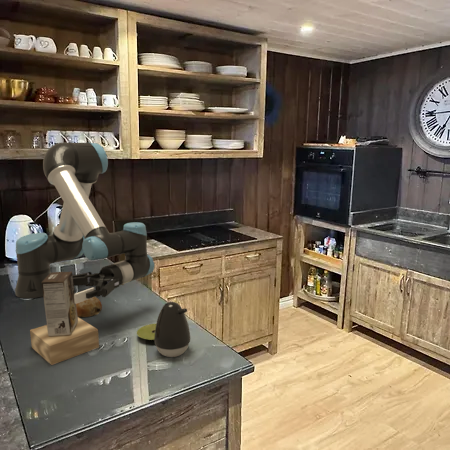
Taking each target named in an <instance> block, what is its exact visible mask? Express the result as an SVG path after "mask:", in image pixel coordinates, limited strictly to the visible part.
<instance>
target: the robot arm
mask: <svg viewBox="0 0 450 450" xmlns="http://www.w3.org/2000/svg"><path fill="white" fill-rule="evenodd" d="M108 165H109V160H108V156H107V152H106V150H105V148H104V147H103V146H102V145H101V144H99V143H98V142H90V141H88V142H64V141H63V142H58V143H56V144H54V145H52V146H51V147H50V148H49V149H48V150H47V151H46V152H45V154H44V156H43V160H42V169H43V173H44V175H45V176H44V177H46V180H47V181H48V183H49V184H51V185H53V186H54V187H55V189H56V191H57V192H58V194H59V196H60V198H61V199H62V201H63V205H62V209H61V212H60V218H59V223H58V225H56V226H54V229H53V231H52V234H50V235H48V234H47V233H45V232H36V233H29V234H26V235H23V236H20V237H19V238H18V239H17V240H16V242H15V253H16V254H15V255H16V262H17V271H18V277H17V281H16V285H15V289H14V291H15V296H16V297H18V298H21V299H36V298H37V299H38V298H42V297H43V289H42V281H43V280H44V279H45V278H46V277H47V276H48V275H49V274H50V273H52V272H51V265H50V264H56V263H59V262H60V263H61V262H65V261H70V260H74V259H78V258H79V257H81V256H82V255H84V256H85V258H86V259H87V260H89V261H98V260H105V259H106V258H111V257H115V256H119V255H123V254H124V256H125V258H124V260H120V261H117V262H114V263H111V264H109V265H105V266H103V267H101V269H100V271H99V273H98V272H95V273H92V272H91V271H87V272H85V273H78V274H72V275H73V283H74V287H80V286H86V287H89V288H87V289H85V290H81V291H79V292H75V294H74V302H75V304H77V303H80V302H83V301H85V300H88V299H91V298H93V297H96V298H99V297H102V298H106V297H107V296H109V295H110V294H111V293H112V292H113V291H114V290H115V289H117V288H119V287H120V286H125V284H127V283H131V282H132V281H135V280H139V279H142V278H145V277H147V276H148V275H151V274H152V273H153V272H154V269H155V266H156V265H155V262H154V258H153V257H152V256H151V255H150V254H148V252H147V251H148V249H147V246H148V245H147V236H148V234H147V228H146V227H147V226H146V225H145V224H144V223H143V222H138V221H137V222H135V221H134V222H127V223H125V224H124V225H123V229H122V230H121V231H116V232H109V230H108V228H107V226H106V225H105V224H104V221H103V220H102V218H101V217H100V215H99V213H98V211H97V210H96V208H95V206H94V205H93V203H92V202H91V200H90V199H89V197H90V195H91V190H92V189H91V188H92V185H93V184H95V183H96V182H97V181H98V179H99V175H101V174H104V173H106V171H107V170H108ZM43 298H44V297H43Z"/></svg>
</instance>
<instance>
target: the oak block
mask: <svg viewBox="0 0 450 450" xmlns="http://www.w3.org/2000/svg"><path fill="white" fill-rule="evenodd" d="M29 332H30V333H29V334H30V344H31V348H32V350H34V351H35V352H36V353H37V354H38V355H40V357H42V358H43V360H44V361H46V362H47V363H48V364H49V365H51V366H53V365H56V364H59V363H61V362H64V361H67V360H69V359H71V358H75V357H77V356H79V355H82V354H83V355H84V354H85V353H88V352H90V351H93V350H96V349H98V348H100V342H99V341H100V340H99V329H98V328H96V327H95V326H94V325H92V324H90V323H88V322H87V321H85V320H83V319H82V318H81V317H78V322H77V324H76V326H75V328H74V330H73V331H72V333H71V334H70V335H60V336H48V329H47V324H44V325H42V326H39V327H36V328H31V329H30V330H29Z"/></svg>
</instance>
